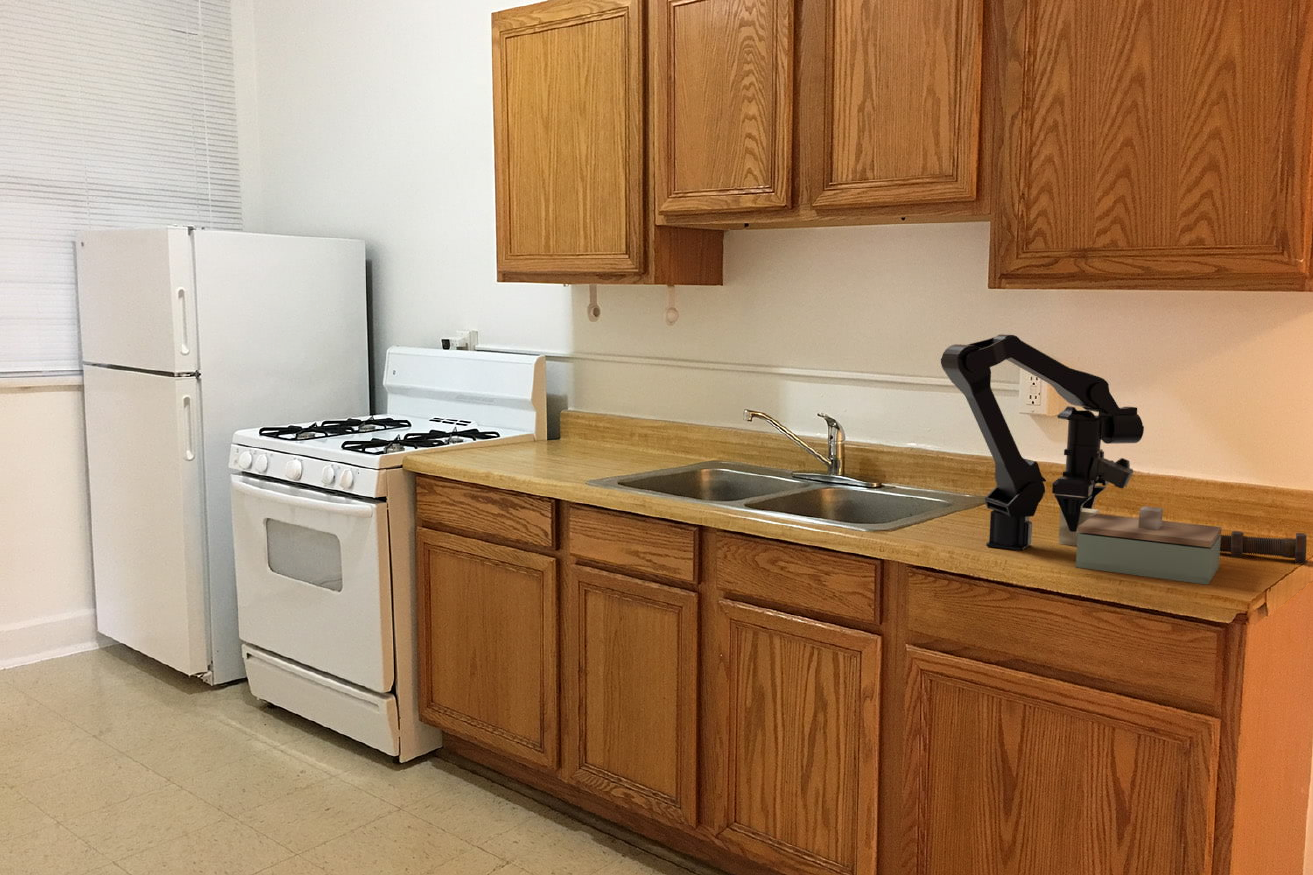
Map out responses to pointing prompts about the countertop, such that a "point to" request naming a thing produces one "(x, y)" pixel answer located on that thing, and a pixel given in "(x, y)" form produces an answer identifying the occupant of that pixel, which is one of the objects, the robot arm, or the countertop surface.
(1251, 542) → the bolt
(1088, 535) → the grey tray
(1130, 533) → the lid
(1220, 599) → the countertop surface
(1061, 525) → the block
